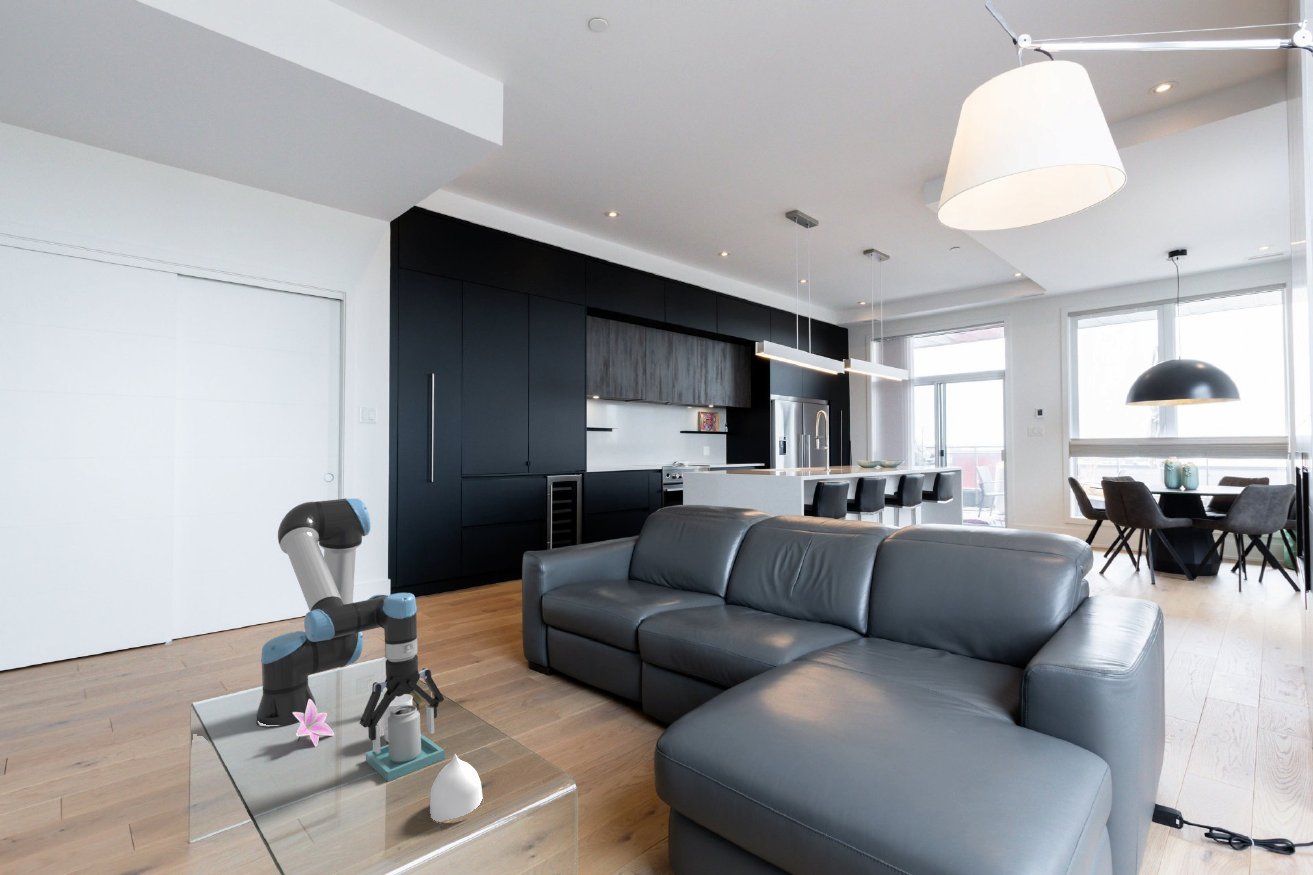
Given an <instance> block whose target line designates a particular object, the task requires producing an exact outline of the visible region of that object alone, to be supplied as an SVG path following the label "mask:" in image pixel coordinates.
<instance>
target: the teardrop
mask: <svg viewBox="0 0 1313 875" xmlns="http://www.w3.org/2000/svg"><path fill="white" fill-rule="evenodd" d="M480 778H481V777H479V774H478V771H477V770H476V768H474V767H473V766H472V765H471V764H470V763H469V762H467V761H464V760H461V759H460V758H459V757H458V756H457V754H456V753H454V754H453V757H452V760H451V761H449V763H447V764H446V765H445V766H444V767H443V768H442V769H441V770H440V771H439V773H438V775H436V778H435V779H434V781H433V783H432V786H431V789H430V800H429V801H430V802H429V805H430V806H429V814H431V815H430V819H431V818H432V819H433V820H432V819H431V820H432V821H434V820H435V821H439V822H442V821H444V820H449V819H453V818H458V817H460V816H464V815H466V814H468V813H470V812H472V811H473V810H474V809H476V808H477V807H478V806H479V805H480V803H481V801H482V799H483V800H484V797H483V789H482V782H481V779H480ZM435 821H434V822H435Z"/></svg>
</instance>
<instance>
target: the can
mask: <svg viewBox="0 0 1313 875" xmlns="http://www.w3.org/2000/svg"><path fill="white" fill-rule="evenodd" d="M417 709H418V708H417V707H416V705H405V706H400V707H397V708H395V709H393V710H392V711H391V712H390V714H391V715H390V716H389V717H388V742H387V743H388V744H389V759H390V760H392V761H393V762H395V763H407V762H410V761H412V760H414V759H415V758H417V756H418V755H419V754H420V753H421V734H422V733H421V732H422V731H421V714H420V711H419V710H417Z"/></svg>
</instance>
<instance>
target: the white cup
mask: <svg viewBox="0 0 1313 875" xmlns="http://www.w3.org/2000/svg"><path fill="white" fill-rule="evenodd" d="M405 705H413V697H412V696H411V695H408V694H404V695H402V696H400V697H398V696H396V697H395V699H394V700H393V701H392V702H391V703H390V705H389V706H388V708H387V709H386V711H385V712H384V714H383V715H382V717H381V721H382V726H383V735H384V736H383V737H384V740H385V742H387V743H388V717H389V716H390V715H391V714H390V712H391V711H392V710H393V709H395V708H397V707H400V706H405ZM413 706H414V705H413Z"/></svg>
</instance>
